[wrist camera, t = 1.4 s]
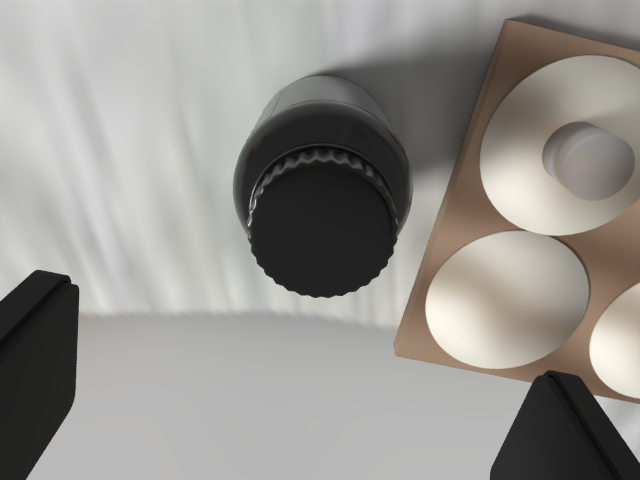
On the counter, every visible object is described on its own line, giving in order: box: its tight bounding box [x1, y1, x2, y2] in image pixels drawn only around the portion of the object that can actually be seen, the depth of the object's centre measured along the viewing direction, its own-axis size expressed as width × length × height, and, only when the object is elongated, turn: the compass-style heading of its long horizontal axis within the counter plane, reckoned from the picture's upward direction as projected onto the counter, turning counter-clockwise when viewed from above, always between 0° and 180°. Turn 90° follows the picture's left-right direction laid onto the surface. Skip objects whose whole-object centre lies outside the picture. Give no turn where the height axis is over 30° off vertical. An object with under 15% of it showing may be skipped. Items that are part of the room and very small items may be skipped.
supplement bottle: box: [233, 75, 413, 298], centre depth 22 cm, size 7×7×12 cm
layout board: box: [394, 19, 640, 404], centre depth 27 cm, size 19×20×4 cm
